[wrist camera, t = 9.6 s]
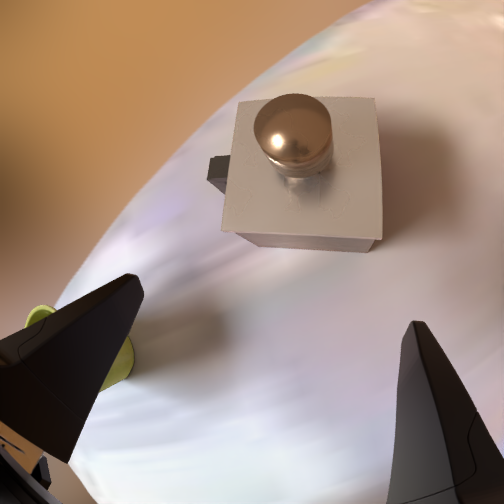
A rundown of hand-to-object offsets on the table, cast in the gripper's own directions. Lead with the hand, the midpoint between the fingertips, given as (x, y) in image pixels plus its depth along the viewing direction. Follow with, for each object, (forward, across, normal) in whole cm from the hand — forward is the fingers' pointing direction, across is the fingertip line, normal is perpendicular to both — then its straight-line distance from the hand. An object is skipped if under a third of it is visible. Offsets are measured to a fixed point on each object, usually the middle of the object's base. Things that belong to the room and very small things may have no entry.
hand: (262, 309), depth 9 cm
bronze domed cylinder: (+14, 0, +2) cm, 14 cm away
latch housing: (+15, 0, +3) cm, 16 cm away
